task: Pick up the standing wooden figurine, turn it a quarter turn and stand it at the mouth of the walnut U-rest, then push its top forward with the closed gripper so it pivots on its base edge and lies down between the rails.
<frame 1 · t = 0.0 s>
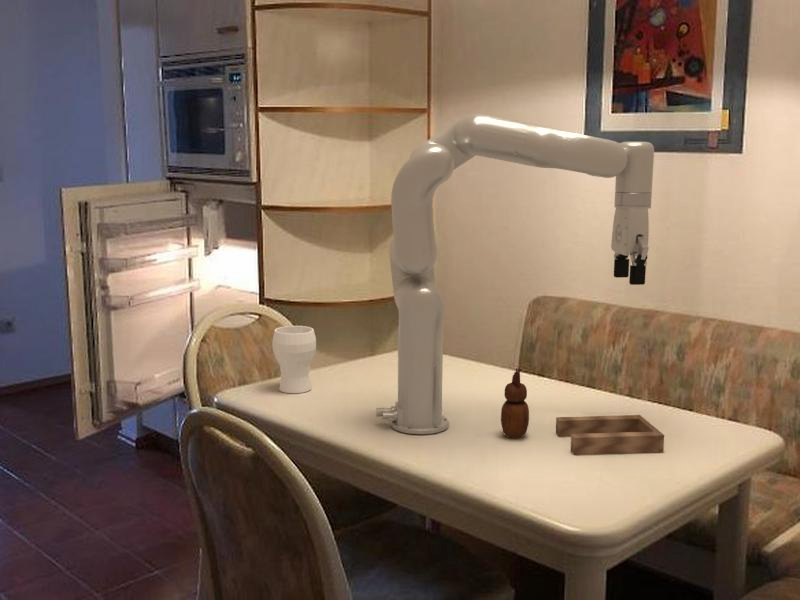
hand: (628, 280, 194), 31 cm above the table, fingers open, 9 cm apart
cup: (295, 390, 223), on the table
u rest: (605, 442, 185), on the table
wooden figurine: (514, 436, 189), on the table
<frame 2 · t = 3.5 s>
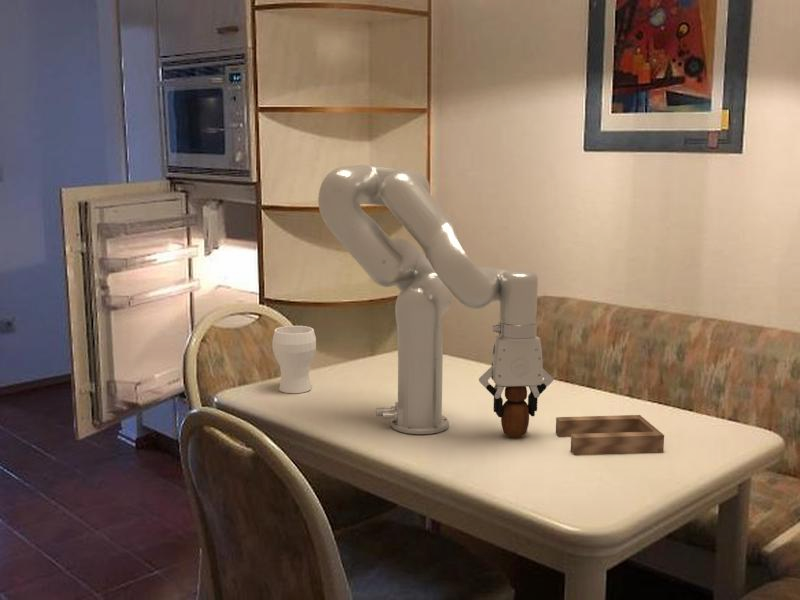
hand: (515, 414, 188), 5 cm above the table, fingers closed on wooden figurine, 6 cm apart
wooden figurine: (514, 436, 189), on the table, touching gripper
everything else where it was.
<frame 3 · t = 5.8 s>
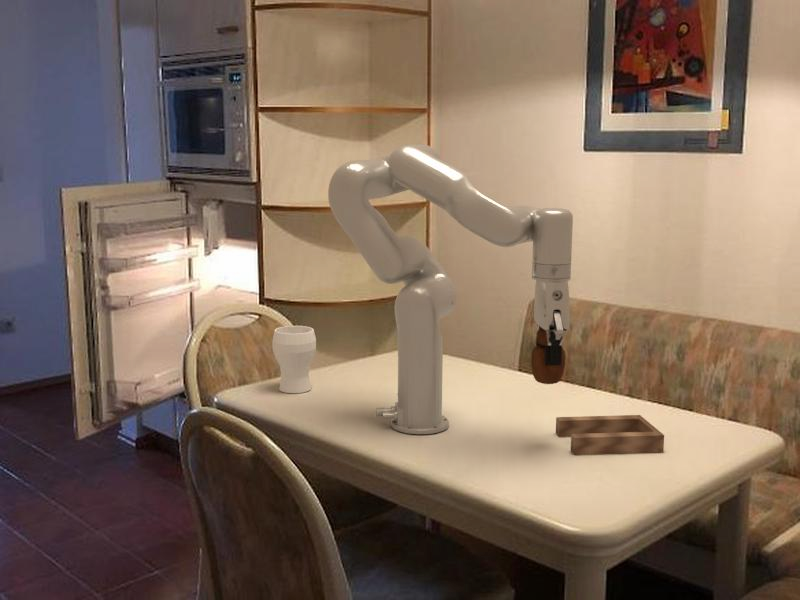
hand: (548, 359, 181), 18 cm above the table, fingers closed on wooden figurine, 6 cm apart
wooden figurine: (547, 383, 182), point 13 cm above the table, touching gripper
everything else where it was.
when the fingers open (6 cm above the table, at t = 8.3 s): wooden figurine drops 1 cm, on the table.
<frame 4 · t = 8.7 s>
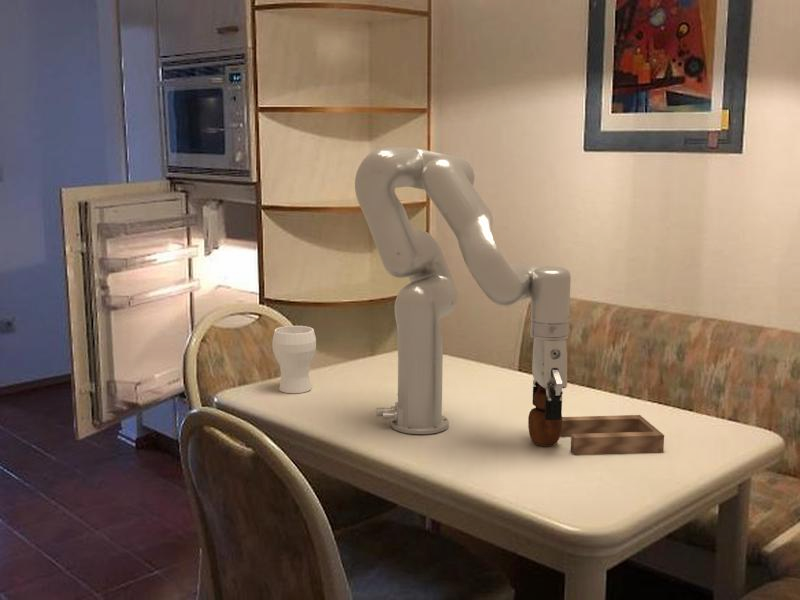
hand: (546, 412, 183), 7 cm above the table, fingers open, 9 cm apart
wooden figurine: (544, 445, 184), on the table
everything else where it was.
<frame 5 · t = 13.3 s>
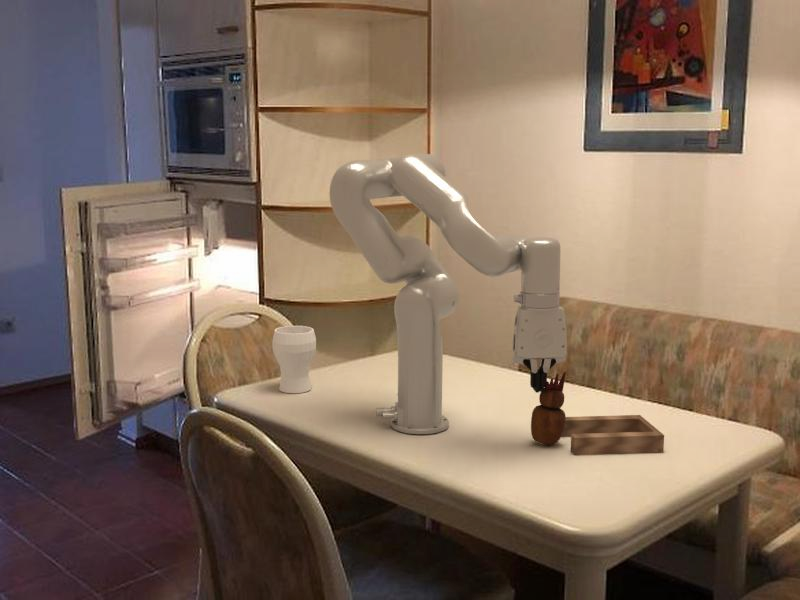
hand: (538, 390, 182), 11 cm above the table, fingers closed
wooden figurine: (544, 443, 184), on the table, touching gripper
everything else where it was.
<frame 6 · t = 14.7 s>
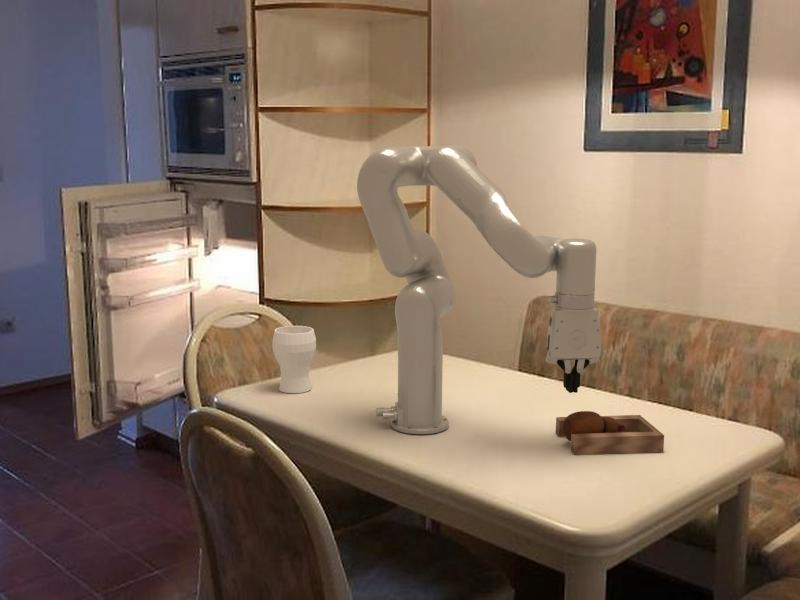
hand: (571, 390, 182), 11 cm above the table, fingers closed
wooden figurine: (566, 427, 182), point 4 cm above the table
everything else where it was.
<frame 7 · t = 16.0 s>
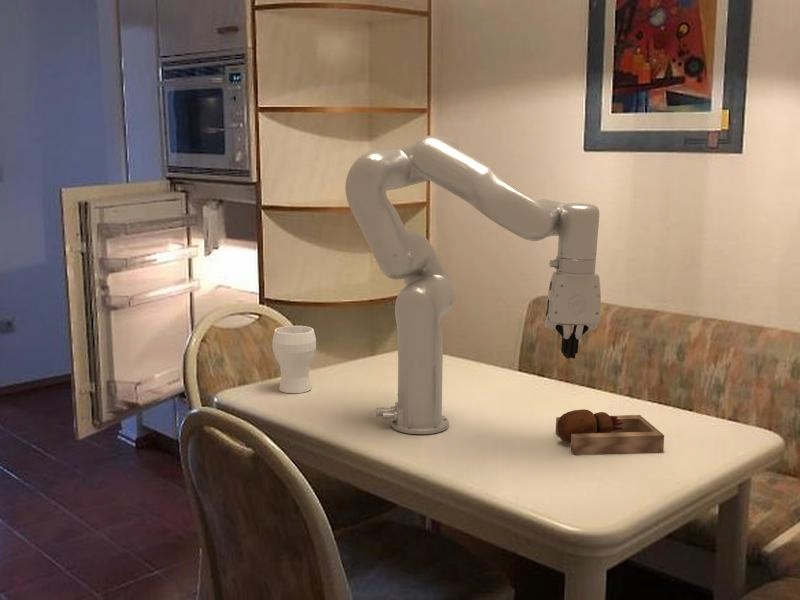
hand: (569, 356, 181), 18 cm above the table, fingers closed
wooden figurine: (559, 428, 183), point 3 cm above the table
everything else where it was.
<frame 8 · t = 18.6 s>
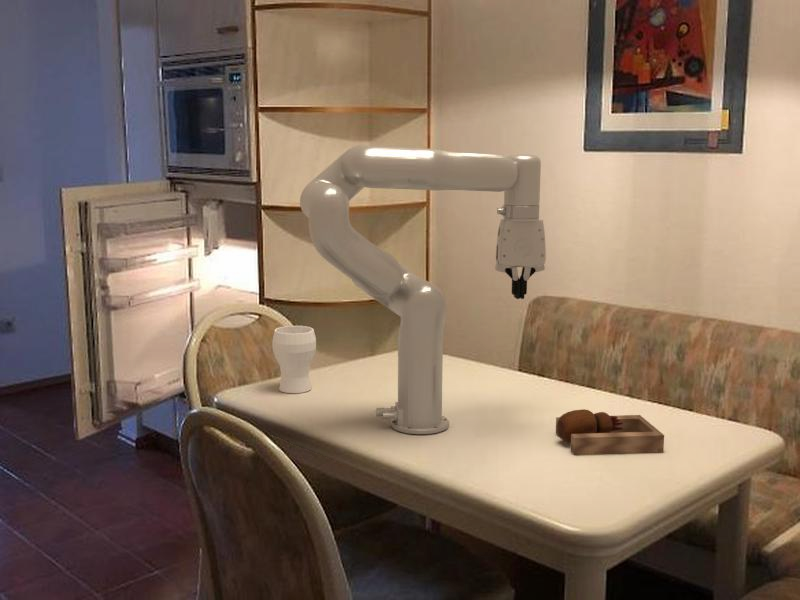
hand: (518, 297, 197), 27 cm above the table, fingers closed
nothing on the table moved.
at the end: wooden figurine tilted 90°; wooden figurine inside the target area (8.8 cm from its centre), point 3.4 cm above the table; the gripper is holding nothing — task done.
